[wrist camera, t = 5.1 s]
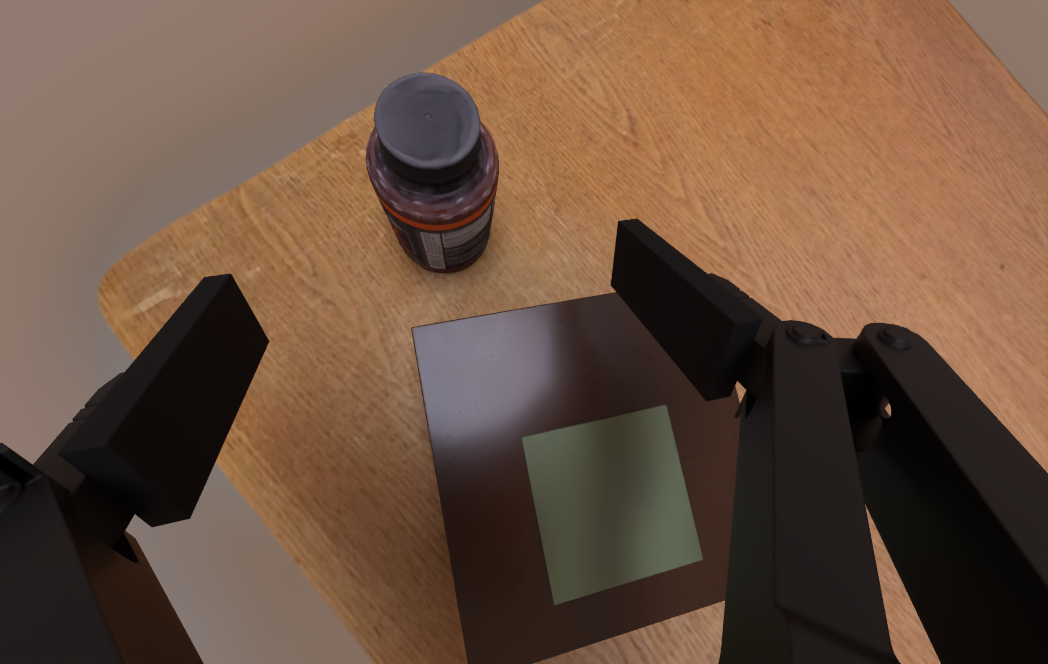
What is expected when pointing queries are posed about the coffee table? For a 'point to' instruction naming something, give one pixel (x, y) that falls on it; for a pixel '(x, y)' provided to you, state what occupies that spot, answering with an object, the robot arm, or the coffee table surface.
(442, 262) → the supplement bottle
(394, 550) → the coffee table surface
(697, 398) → the dark wooden box
